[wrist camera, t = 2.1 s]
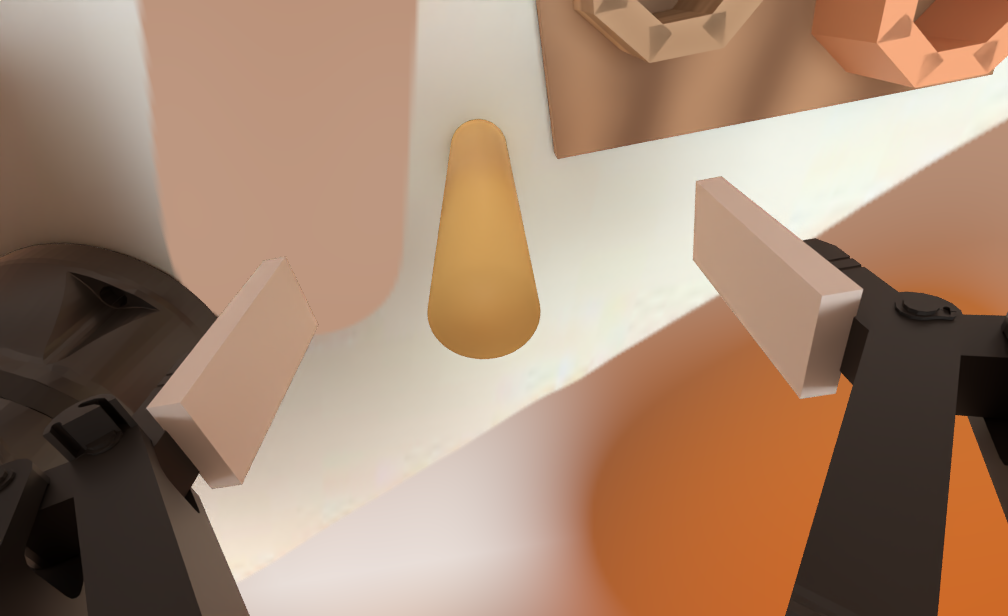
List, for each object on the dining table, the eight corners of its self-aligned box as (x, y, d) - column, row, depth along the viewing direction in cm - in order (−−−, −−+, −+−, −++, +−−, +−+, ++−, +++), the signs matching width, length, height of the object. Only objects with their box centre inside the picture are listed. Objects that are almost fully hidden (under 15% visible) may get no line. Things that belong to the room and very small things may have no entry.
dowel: (458, 180, 27) (443, 366, 14) (444, 125, 26) (413, 277, 12) (510, 170, 27) (547, 348, 14) (501, 114, 26) (531, 255, 12)
